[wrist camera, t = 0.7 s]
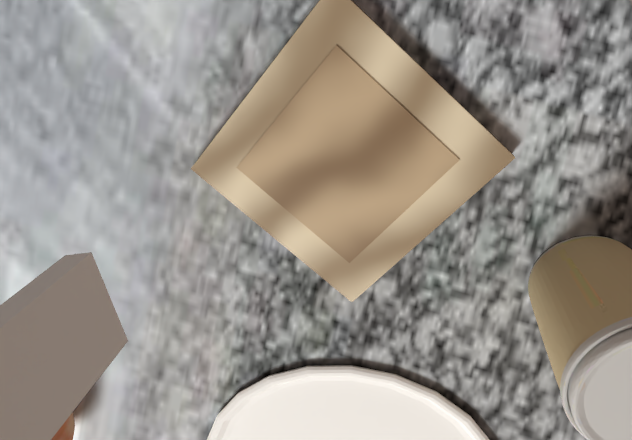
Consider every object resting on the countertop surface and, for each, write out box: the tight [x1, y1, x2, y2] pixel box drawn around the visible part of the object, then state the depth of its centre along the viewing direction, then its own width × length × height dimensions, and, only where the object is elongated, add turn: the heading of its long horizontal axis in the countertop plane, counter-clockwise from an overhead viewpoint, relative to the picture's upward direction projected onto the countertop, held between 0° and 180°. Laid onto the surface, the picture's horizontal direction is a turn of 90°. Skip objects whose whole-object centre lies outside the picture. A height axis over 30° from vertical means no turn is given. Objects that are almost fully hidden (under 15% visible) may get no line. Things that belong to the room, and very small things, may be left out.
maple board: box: [191, 0, 515, 302], centre depth 34 cm, size 16×16×1 cm
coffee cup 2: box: [528, 235, 632, 440], centre depth 30 cm, size 9×9×12 cm
